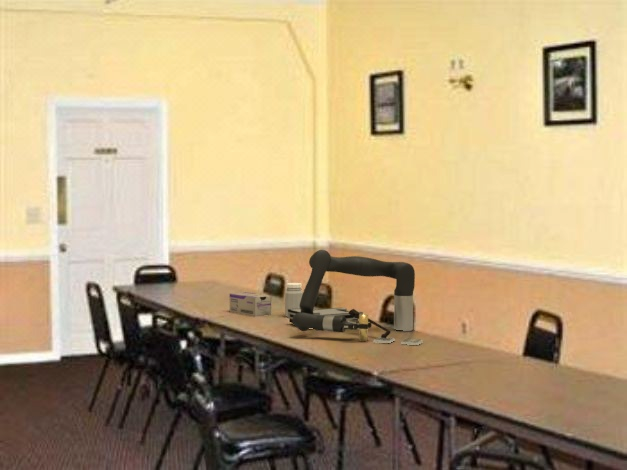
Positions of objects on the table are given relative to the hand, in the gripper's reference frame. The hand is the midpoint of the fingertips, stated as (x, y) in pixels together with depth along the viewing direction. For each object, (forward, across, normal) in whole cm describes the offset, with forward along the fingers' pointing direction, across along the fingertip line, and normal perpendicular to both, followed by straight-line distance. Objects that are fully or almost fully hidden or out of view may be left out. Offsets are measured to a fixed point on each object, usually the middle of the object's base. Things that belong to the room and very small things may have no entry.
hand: (369, 325), depth 443 cm
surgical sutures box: (-93, +64, +8) cm, 113 cm away
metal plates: (+14, 0, +7) cm, 15 cm away
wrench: (-5, +13, +2) cm, 14 cm away
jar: (-65, +61, +8) cm, 89 cm away
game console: (-38, +40, +8) cm, 55 cm away
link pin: (-3, 0, +7) cm, 8 cm away
